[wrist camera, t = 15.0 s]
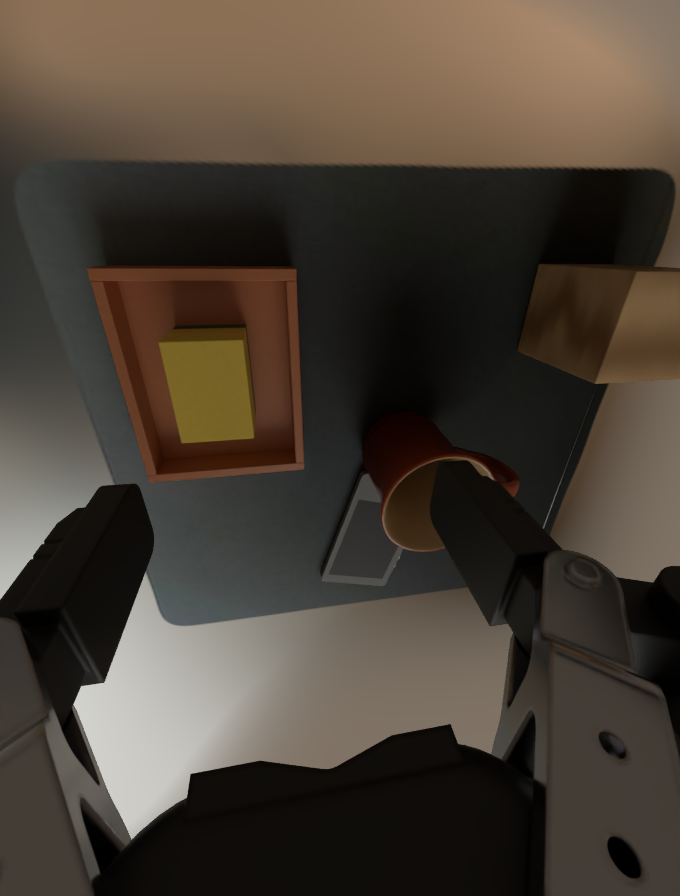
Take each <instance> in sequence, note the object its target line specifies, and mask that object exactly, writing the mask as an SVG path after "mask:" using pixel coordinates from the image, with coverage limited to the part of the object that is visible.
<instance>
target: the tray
mask: <svg viewBox="0 0 680 896" xmlns="http://www.w3.org/2000/svg"><path fill="white" fill-rule="evenodd" d="M87 272H88V276H89V279H90V281H91V285H92V289H93V292H94V296H95V299H96V302H97V306H98V309H99V312H100V316H101V319H102V323H103V326H104V329H105V333H106V336H107V340H108V343H109V346H110V350H111V353H112V357H113V360H114V363H115V367H116V370H117V373H118V377H119V380H120V384H121V387H122V390H123V394H124V397H125V401H126V404H127V407H128V411H129V414H130V418H131V421H132V424H133V428H134V431H135V434H136V438H137V441H138V445H139V448H140V451H141V455H142V458H143V462H144V465H145V468H146V472H147V475H148V479H149V482H150V483H151V482H162V481H174V480H186V479H197V478H209V477H221V476H232V475H244V474H255V473H267V472H279V471H290V470H302V469H304V446H303V422H302V398H301V374H300V350H299V325H298V301H297V281H296V280H297V276H296V269H295V268H294V267H292V266H133V265H105V266H98V267H90V268H87ZM234 324H246V325H247V334H248V343H249V352H250V362H251V371H252V380H253V389H254V398H255V407H256V418H255V437H254V438H250V439H236V440H222V441H208V442H194V443H181V439H180V435H179V431H178V426H177V422H176V418H175V413H174V409H173V405H172V400H171V396H170V392H169V387H168V383H167V378H166V374H165V370H164V365H163V361H162V357H161V352H160V348H159V344H158V342H159V341H160V340H161V339H162V338H163V337H164V336H165V335H166V334H167V333H169V332H170V331H171V330H172V328H174V327H175V326H186V325H234Z"/></svg>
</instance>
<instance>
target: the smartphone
mask: <svg viewBox="0 0 680 896" xmlns="http://www.w3.org/2000/svg"><path fill="white" fill-rule="evenodd" d="M380 510H381V501H380V496H379V494H378V492H377V491H376V489H375V487H374V485H373V483H372V481H371V479H370V477H369V475H368V473H367V471H366V470H364V471H362V472H361V473H360V475H359V478H358V480H357V483H356V485H355V488H354V490H353V493H352V495H351V498H350V501H349V503H348V506H347V508H346V511H345V513H344V516H343V518H342V521H341V523H340V526H339V529H338V531H337V534H336V536H335V539H334V541H333V544H332V546H331V549H330V552H329V554H328V557H327V559H326V562H325V564H324V567H323V569H322V572H321V577H322V581H324V582H336V583H350V584H363V585H376V586H383V585H385V584H386V582H387V580H388V578H389V576H390V574H391V572H392V570H393V568H394V567H395V565H396V563H397V561H398V559H399V557H400V555H401V553H402V551H403V549H404V548H401V547H399V546H398V545H396V544H395V543H393V542H392V541H391V540H390V539H389V538H388V537H387V535H386V534H385V532H384V530H383V527H382V524H381V517H380Z"/></svg>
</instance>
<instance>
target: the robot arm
mask: <svg viewBox="0 0 680 896" xmlns="http://www.w3.org/2000/svg"><path fill="white" fill-rule="evenodd" d="M430 517H431V521H432V524H433V526H434V528H435V530H436V532H437V533H438V535H439V537H440V539H441V540H442V542H443V544H444V546H445V548H446V549H447V551H448V553H449V555H450V556H451V558H452V560H453V562H454V563H455V565H456V567H457V569H458V571H459V572H460V574H461V576H462V578H463V579H464V581H465V583H466V585H467V587H468V588H469V590H470V592H471V594H472V595H473V597H474V599H475V600H476V602H477V604H478V606H479V608H480V610H481V611H482V613H483V615H484V616H485V618H486V620H487V622H488V624H489V625H490V626H496V625H502V624H509V626H510V627H511V629H512V631H513V634H512V637H511V639H510V647H509V654H508V663H507V670H506V678H505V686H504V694H503V703H502V711H501V717H500V722H499V726H498V730H497V733H496V736H495V740H494V744H493V749H492V754H489V753H487V752H484V751H482V750H480V749H476V748H473V747H469V746H466V745H461V744H458V743H457V740H456V738H455V735H454V732H453V730H452V727H451V725H450V724H449V725H444V726H438V727H434V728H428V729H423V730H418V731H412V732H407V733H402V734H397V735H392V736H390V737H388V738H386V739H385V740H383V741H381V742H379V743H378V744H376V745H374V746H372V747H370V748H369V749H367V750H365V751H363V752H362V753H360V754H358V755H356V756H355V757H353V758H351V759H349V760H347V761H346V762H344V763H342V764H340V765H338V766H337V767H334V768H331V769H318V768H310V767H302V766H296V765H288V764H280V763H273V762H265V761H256V762H251V763H246V764H241V765H235V766H230V767H225V768H220V769H215V770H210V771H204V772H199V773H194V774H191V775H190V782H189V789H188V795H187V798H186V799H184V800H182V801H180V802H178V803H177V804H175V805H174V806H172V807H171V808H169V809H168V810H166V811H165V812H163V813H162V814H160V815H159V816H158V817H157V818H156V819H154V820H153V821H152V822H151V823H150V824H149V825H148V826H146V827H145V828H144V829H143V830H141V831H140V832H139V833H138V834H137V835H136V836H135V837H134V838H133V839H132V840H131V838H130V835H129V833H128V831H127V829H126V826H125V824H124V822H123V820H122V818H121V816H120V814H119V812H118V810H117V809H116V807H115V805H114V803H113V801H112V799H111V797H110V795H109V793H108V790H107V788H106V785H105V783H104V781H103V778H102V775H101V773H100V770H99V767H98V765H97V762H96V760H95V757H94V755H93V752H92V749H91V747H90V744H89V742H88V739H87V736H86V734H85V731H84V728H83V726H82V723H81V721H80V718H79V716H78V713H77V710H76V709H75V707H74V705H73V704H74V701H75V699H76V697H77V694H78V692H79V690H80V687H81V686H84V685H91V684H98V683H104V682H105V679H106V676H107V674H108V671H109V668H110V665H111V663H112V660H113V658H114V655H115V652H116V649H117V647H118V644H119V641H120V639H121V636H122V633H123V630H124V628H125V625H126V623H127V620H128V617H129V615H130V612H131V609H132V606H133V604H134V601H135V598H136V596H137V593H138V590H139V588H140V585H141V582H142V580H143V577H144V574H145V572H146V569H147V566H148V564H149V561H150V558H151V555H152V552H153V547H154V533H153V528H152V525H151V522H150V519H149V516H148V512H147V509H146V506H145V503H144V500H143V497H142V493H141V490H140V488H139V486H138V485H137V484H121V485H108V486H101V487H99V489H98V490H97V491H96V493H95V494H94V496H93V497H92V498H91V500H90V502H89V503H88V504H87V506H86V507H85V508H77V509H76V510H75V511H73V512H72V513H70V514H69V515H68V516H66V517H65V518H64V519H63V520H61V521H60V522H58V523H57V524H56V526H55V527H54V528H53V530H52V531H51V532H50V534H49V535H48V537H47V538H46V539H45V541H44V542H45V543H44V544H42V545H41V546H40V547H39V549H38V550H37V551H36V553H35V554H34V555H33V559H32V560H30V561H29V562H28V563H27V565H26V566H25V567H24V569H23V570H22V571H21V573H20V574H19V576H18V577H17V578H16V580H15V581H14V582H13V584H12V585H11V586H10V588H9V589H8V590H7V592H6V593H5V594H4V596H3V597H2V598H1V600H0V896H680V566H670V567H666V568H664V569H663V570H661V572H660V573H659V575H658V576H657V578H656V579H655V581H654V582H653V583H651V582H645V581H637V580H631V579H624V578H618V577H616V576H615V575H614V574H613V573H612V572H611V571H610V570H609V569H608V568H607V567H605V566H604V565H603V564H601V563H600V562H598V561H596V560H595V559H593V558H591V557H588V556H587V555H584V554H581V553H578V552H574V551H568V550H562V549H561V547H560V546H559V545H558V544H557V543H556V542H555V541H554V540H553V539H552V538H551V537H550V536H549V535H548V534H547V533H546V531H545V530H544V529H543V528H542V527H541V526H540V525H539V524H538V523H537V522H536V521H535V520H534V519H533V518H532V516H531V515H530V514H529V513H528V512H527V511H526V512H525V511H524V508H523V507H522V506H521V505H520V504H519V503H518V501H515V498H514V497H513V496H512V495H511V494H510V493H509V492H508V491H507V490H506V489H505V488H504V487H503V486H502V485H501V484H499V483H497V482H496V481H494V480H492V479H491V478H489V477H487V476H482V475H481V474H480V473H479V472H478V471H477V470H476V468H475V467H474V466H473V465H472V464H471V463H470V462H469V461H467V460H459V461H445V462H440V463H439V464H438V466H437V469H436V474H435V480H434V485H433V491H432V496H431V501H430Z"/></svg>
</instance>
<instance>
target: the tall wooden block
mask: <svg viewBox="0 0 680 896" xmlns="http://www.w3.org/2000/svg"><path fill="white" fill-rule="evenodd" d="M517 351H519V352H521V353H524V354H526V355H528V356H531V357H533V358H535V359H538V360H540V361H543V362H545V363H547V364H550V365H552V366H554V367H557V368H559V369H561V370H564V371H566V372H569V373H571V374H573V375H576V376H578V377H580V378H583V379H585V380H588V381H590V382H592V383H595V384H599V383H616V382H635V381H654V380H672V379H679V378H680V268H667V267H650V266H633V265H616V264H539V266H538V270H537V274H536V278H535V282H534V286H533V290H532V294H531V298H530V302H529V306H528V310H527V314H526V318H525V322H524V326H523V330H522V334H521V338H520V342H519V346H518V350H517Z"/></svg>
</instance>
